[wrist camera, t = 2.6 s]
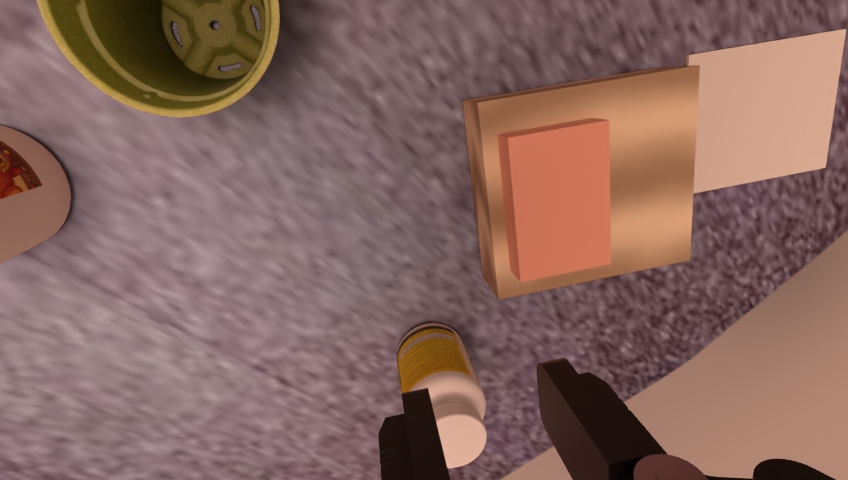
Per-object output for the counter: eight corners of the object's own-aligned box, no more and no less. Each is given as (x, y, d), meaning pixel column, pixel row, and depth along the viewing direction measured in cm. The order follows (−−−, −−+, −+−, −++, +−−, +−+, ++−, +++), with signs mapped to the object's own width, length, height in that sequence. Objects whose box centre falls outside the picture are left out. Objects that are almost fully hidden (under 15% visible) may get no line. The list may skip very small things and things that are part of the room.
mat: (685, 55, 31) (688, 55, 31) (841, 29, 32) (846, 28, 32) (680, 194, 35) (682, 195, 35) (821, 167, 36) (825, 167, 36)
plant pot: (269, -84, 26) (229, -163, 17) (320, 87, 29) (307, 88, 21) (102, -46, 25) (-19, -109, 17) (174, 125, 28) (101, 140, 20)
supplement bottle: (381, 349, 35) (390, 441, 26) (436, 307, 35) (465, 386, 26) (423, 392, 37) (445, 492, 28) (475, 353, 37) (516, 441, 28)
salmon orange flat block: (497, 134, 27) (507, 138, 25) (592, 117, 28) (609, 119, 26) (510, 270, 30) (520, 282, 28) (595, 253, 31) (610, 263, 29)
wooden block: (462, 100, 30) (477, 102, 27) (658, 67, 31) (699, 64, 28) (483, 276, 35) (498, 299, 31) (654, 241, 36) (690, 260, 32)
